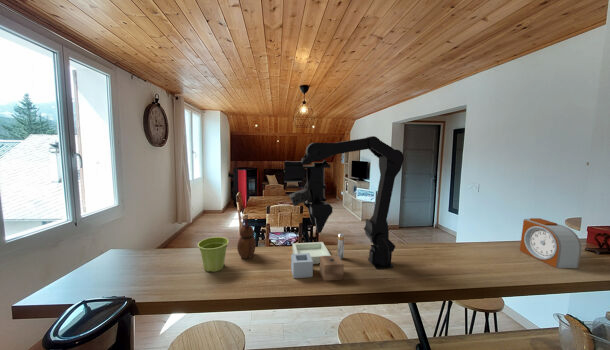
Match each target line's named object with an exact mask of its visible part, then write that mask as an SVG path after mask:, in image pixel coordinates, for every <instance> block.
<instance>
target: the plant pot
mask: <svg viewBox="0 0 610 350" xmlns="http://www.w3.org/2000/svg"><path fill="white" fill-rule="evenodd" d="M229 243H230V242H229V239H228V238H227V237H223V236H213V237H207V238H205V239H202V240H200V241H199V242H198V243H197V247H198V248H199V251H200V253H201V259H202V264H203V265H202V266H203V269H204V271H206V272H214V273H216V272H218V271H220V270H222V269H223V268H224V266H225V258H226V251H227V247H228V244H229Z"/></svg>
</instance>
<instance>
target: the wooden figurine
mask: <svg viewBox="0 0 610 350" xmlns="http://www.w3.org/2000/svg"><path fill="white" fill-rule="evenodd" d="M253 234H254V228H253V226H252V225H248V219H247V217H245V225H243V226H241V227H240V230H239V235H240V237H239V239H238V242H237V246H236V247H237V253H238V255H239V256H240V257H241V258H242V259H250V258H251V257H253V256H254V253H255V252H256V251H255V250H256V245H257V242H256V237H255V236H254V235H253Z"/></svg>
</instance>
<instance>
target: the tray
mask: <svg viewBox="0 0 610 350" xmlns="http://www.w3.org/2000/svg"><path fill="white" fill-rule="evenodd" d="M291 250H292V254H300V253H310V256H311V258H312V260H313V265H320V264H319V263H320V256H332V255H331V253H330V251H329V250H328V249H327V246H326V245H325V244H324V241H316V242H300V243H299V242H296V243H292V249H291Z"/></svg>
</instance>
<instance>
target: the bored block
mask: <svg viewBox="0 0 610 350" xmlns="http://www.w3.org/2000/svg"><path fill="white" fill-rule="evenodd" d="M290 259H291V260H290V261H291V262H290V265H291V266H290V269H291V274H292V278H293V279H301V278H303V279H304V278H312V277H314V275H313V273H314V264H313V260H312V258H311V256H310V253H300V254H293V253H291V257H290Z"/></svg>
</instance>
